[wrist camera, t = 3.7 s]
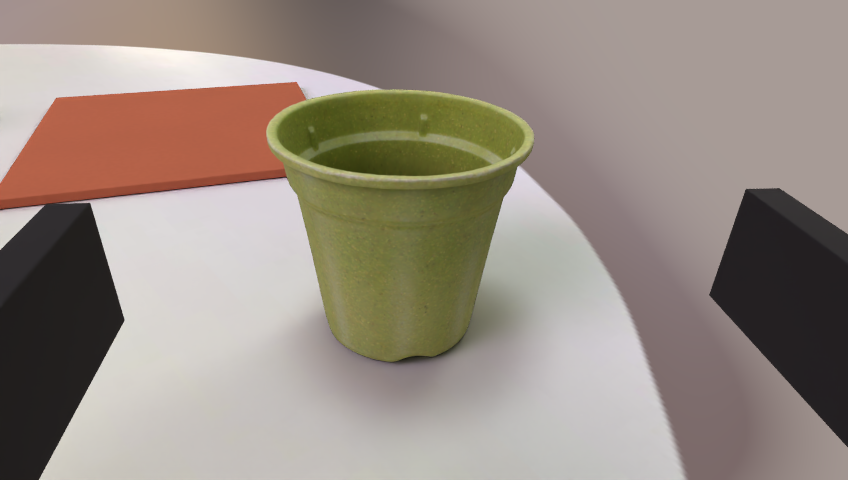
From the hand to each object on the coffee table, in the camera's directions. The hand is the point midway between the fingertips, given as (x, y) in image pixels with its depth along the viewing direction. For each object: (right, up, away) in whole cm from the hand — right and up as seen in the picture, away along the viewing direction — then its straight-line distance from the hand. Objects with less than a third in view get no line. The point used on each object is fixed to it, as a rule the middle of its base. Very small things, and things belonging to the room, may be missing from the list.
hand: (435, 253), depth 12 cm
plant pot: (-1, -3, +13) cm, 14 cm away
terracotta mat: (-18, +8, +31) cm, 37 cm away
